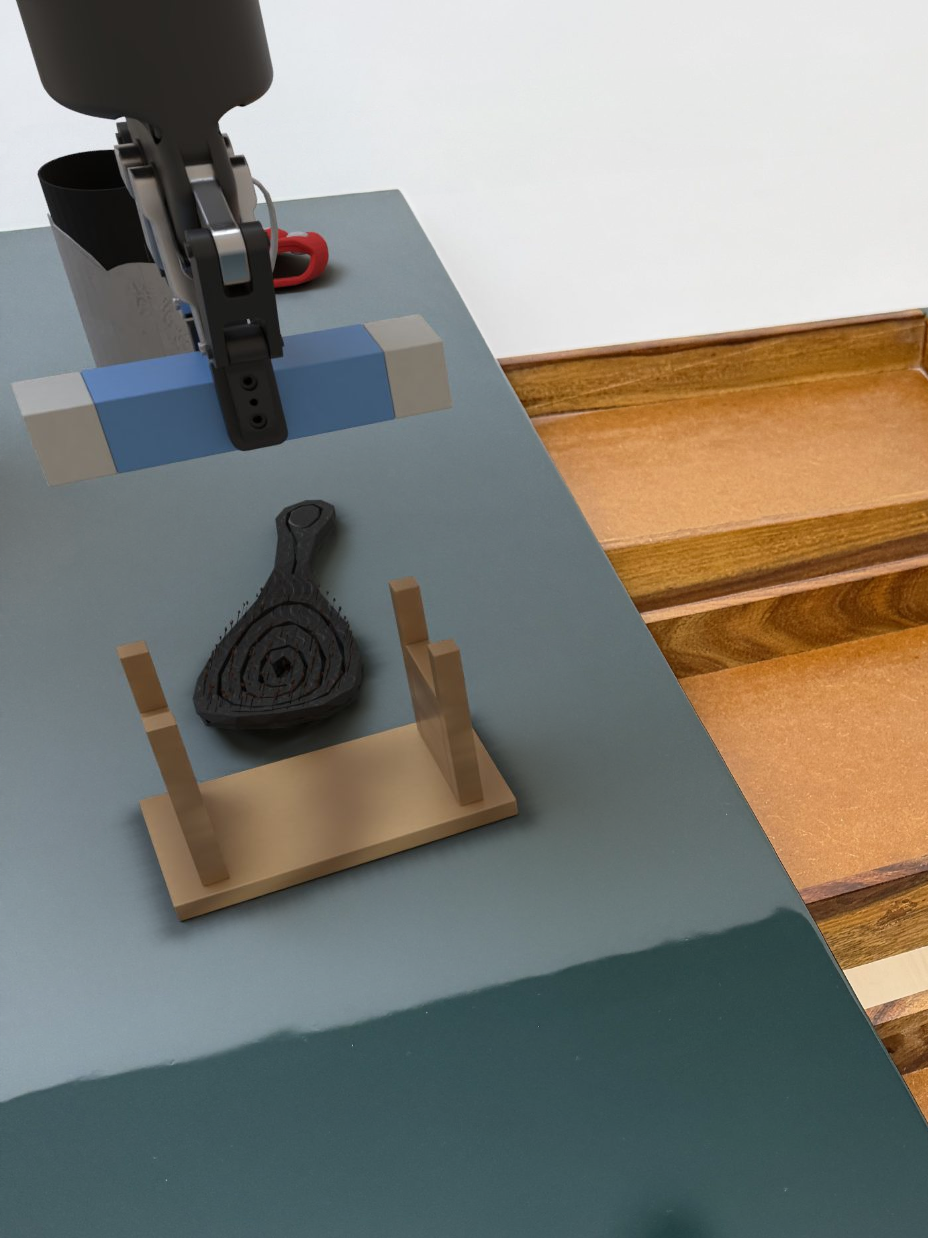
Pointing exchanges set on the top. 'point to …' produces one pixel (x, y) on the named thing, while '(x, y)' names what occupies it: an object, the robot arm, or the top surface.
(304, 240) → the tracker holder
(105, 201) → the glass holder
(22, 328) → the top surface
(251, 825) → the holder
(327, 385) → the handle
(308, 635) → the hairbrush
